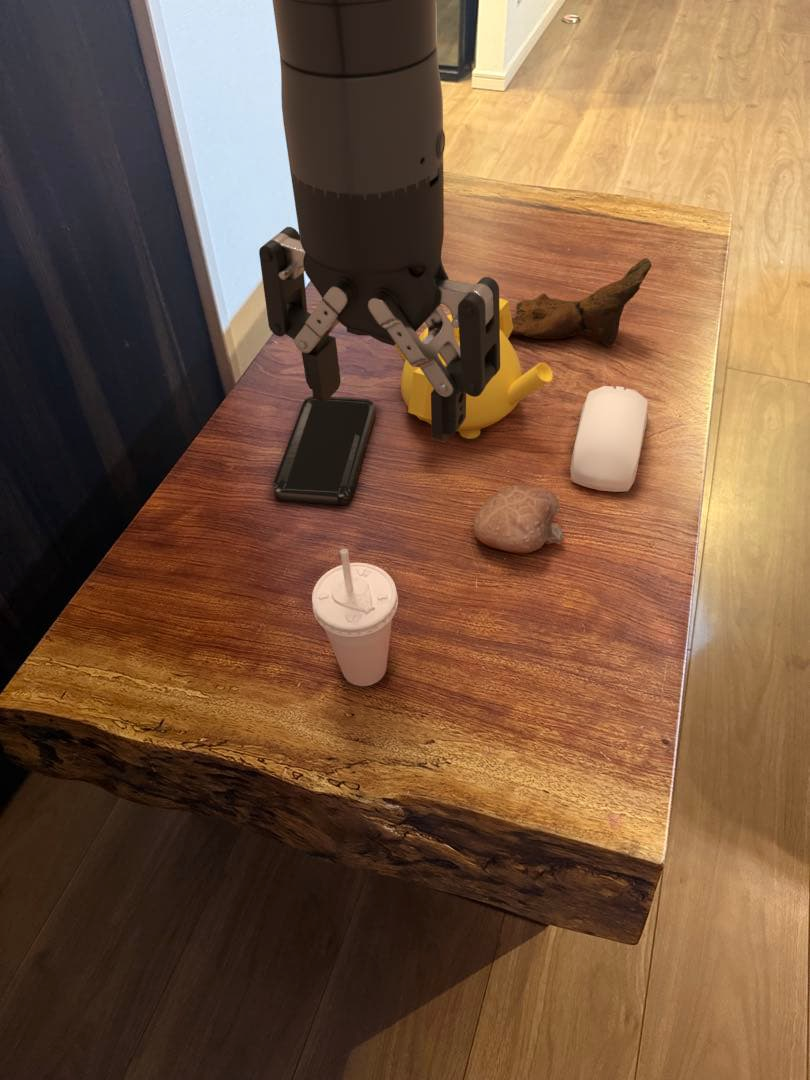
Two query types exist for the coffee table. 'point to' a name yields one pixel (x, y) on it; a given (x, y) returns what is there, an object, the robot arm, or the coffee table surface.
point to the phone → (325, 451)
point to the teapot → (497, 392)
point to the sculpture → (580, 310)
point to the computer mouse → (609, 439)
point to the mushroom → (518, 519)
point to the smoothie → (357, 617)
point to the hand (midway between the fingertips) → (385, 412)
